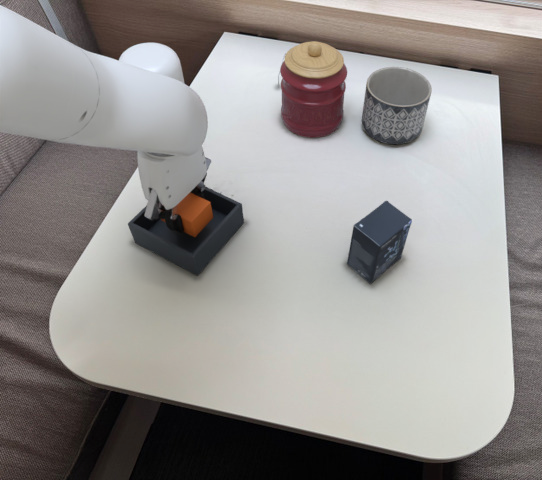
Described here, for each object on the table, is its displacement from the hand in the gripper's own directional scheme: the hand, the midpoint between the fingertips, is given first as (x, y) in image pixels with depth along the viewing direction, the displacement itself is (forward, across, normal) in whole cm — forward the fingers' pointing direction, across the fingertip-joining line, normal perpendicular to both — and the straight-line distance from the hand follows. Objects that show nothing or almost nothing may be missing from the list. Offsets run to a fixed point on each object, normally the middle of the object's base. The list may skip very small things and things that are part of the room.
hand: (186, 216), depth 87 cm
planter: (+4, -44, +18) cm, 48 cm away
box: (+4, -11, +30) cm, 32 cm away
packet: (+1, 0, 0) cm, 1 cm away
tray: (+4, 0, 0) cm, 4 cm away
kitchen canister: (+4, -38, +3) cm, 38 cm away
